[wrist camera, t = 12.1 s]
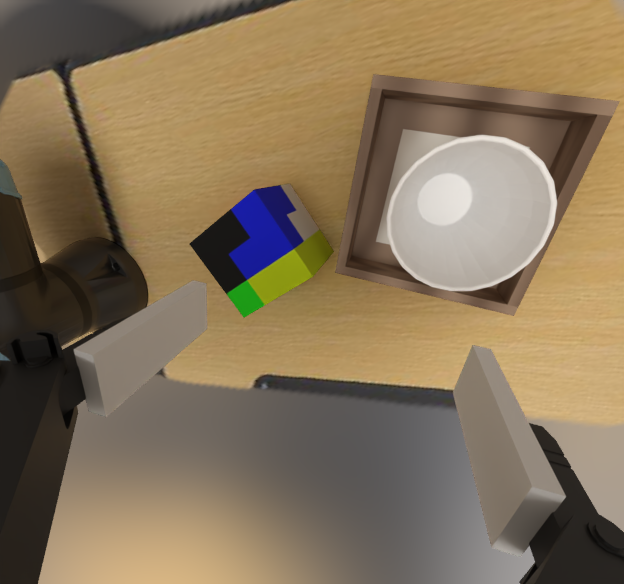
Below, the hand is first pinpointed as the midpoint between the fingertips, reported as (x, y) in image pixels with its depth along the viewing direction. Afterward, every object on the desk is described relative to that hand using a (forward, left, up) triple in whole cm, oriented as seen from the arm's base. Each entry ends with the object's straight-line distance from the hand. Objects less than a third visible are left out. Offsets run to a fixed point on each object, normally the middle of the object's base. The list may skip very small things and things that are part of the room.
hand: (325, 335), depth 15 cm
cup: (+6, +5, -24) cm, 26 cm away
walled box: (+6, +5, -25) cm, 26 cm away
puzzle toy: (-12, -3, -25) cm, 28 cm away
